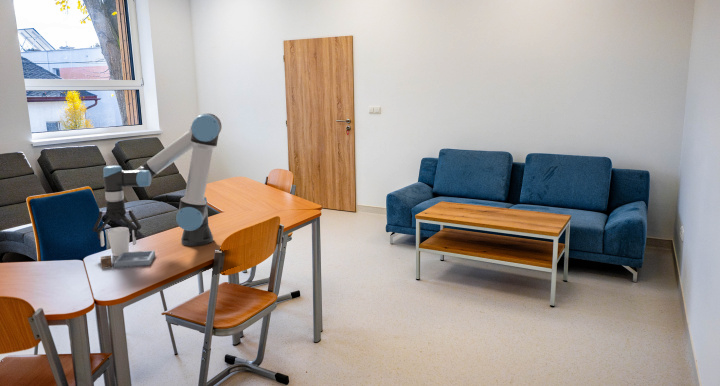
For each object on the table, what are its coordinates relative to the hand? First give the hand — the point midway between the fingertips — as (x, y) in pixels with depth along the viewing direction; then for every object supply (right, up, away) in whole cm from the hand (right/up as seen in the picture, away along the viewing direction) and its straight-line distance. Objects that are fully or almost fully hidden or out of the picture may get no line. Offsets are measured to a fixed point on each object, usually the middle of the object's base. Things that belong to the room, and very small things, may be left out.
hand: (118, 245), depth 230 cm
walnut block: (+2, -8, -15) cm, 17 cm away
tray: (+12, -6, -10) cm, 17 cm away
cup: (0, -5, +1) cm, 5 cm away
